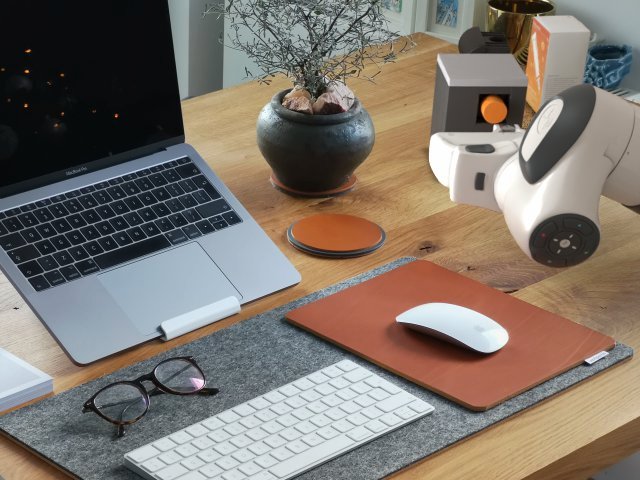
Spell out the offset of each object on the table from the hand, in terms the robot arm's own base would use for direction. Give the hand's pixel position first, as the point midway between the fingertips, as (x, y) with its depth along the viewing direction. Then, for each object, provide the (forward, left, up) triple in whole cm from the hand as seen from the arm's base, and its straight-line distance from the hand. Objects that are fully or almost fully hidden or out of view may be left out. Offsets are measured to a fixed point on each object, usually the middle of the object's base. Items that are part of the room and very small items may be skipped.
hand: (504, 130), depth 137 cm
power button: (0, -7, -1) cm, 7 cm away
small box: (-15, -34, -10) cm, 38 cm away
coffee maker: (+1, -12, -10) cm, 16 cm away
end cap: (-7, -48, -10) cm, 49 cm away
